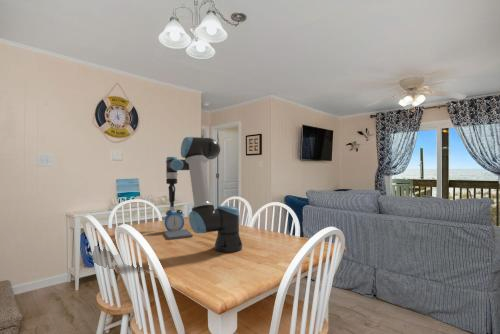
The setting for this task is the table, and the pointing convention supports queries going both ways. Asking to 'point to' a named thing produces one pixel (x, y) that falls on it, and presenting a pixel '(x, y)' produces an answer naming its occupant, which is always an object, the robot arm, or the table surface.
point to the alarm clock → (174, 220)
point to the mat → (177, 234)
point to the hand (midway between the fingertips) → (171, 210)
